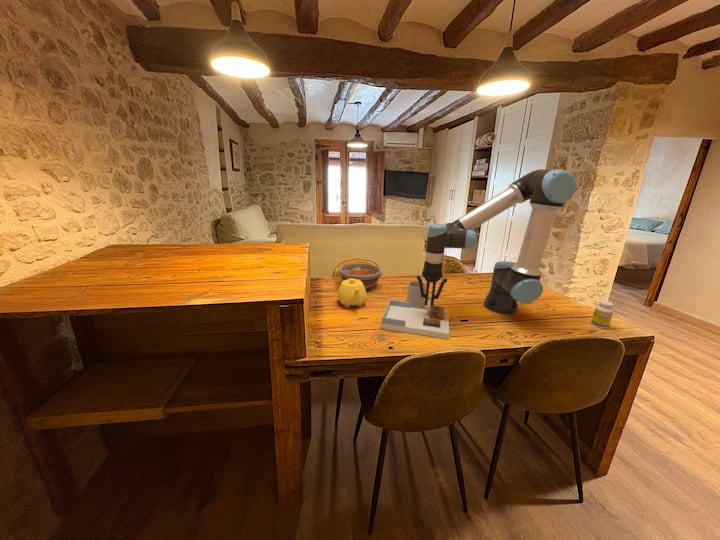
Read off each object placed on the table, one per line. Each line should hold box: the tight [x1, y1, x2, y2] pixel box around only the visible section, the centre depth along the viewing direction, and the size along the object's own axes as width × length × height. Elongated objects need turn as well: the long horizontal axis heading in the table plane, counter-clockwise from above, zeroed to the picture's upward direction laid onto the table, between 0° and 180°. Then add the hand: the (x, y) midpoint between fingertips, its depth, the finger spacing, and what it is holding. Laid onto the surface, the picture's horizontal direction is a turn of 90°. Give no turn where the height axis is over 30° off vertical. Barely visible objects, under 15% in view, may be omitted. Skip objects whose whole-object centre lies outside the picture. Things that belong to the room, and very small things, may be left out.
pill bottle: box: [590, 300, 614, 329], centre depth 131 cm, size 6×6×11 cm
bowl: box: [339, 262, 382, 290], centre depth 168 cm, size 23×23×10 cm
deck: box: [381, 299, 450, 340], centre depth 129 cm, size 27×19×5 cm
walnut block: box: [429, 304, 445, 320], centre depth 131 cm, size 6×6×4 cm
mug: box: [406, 280, 427, 309], centre depth 147 cm, size 12×8×11 cm
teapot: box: [337, 278, 368, 309], centre depth 144 cm, size 14×20×13 cm
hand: (428, 311), depth 133 cm, fingers closed
